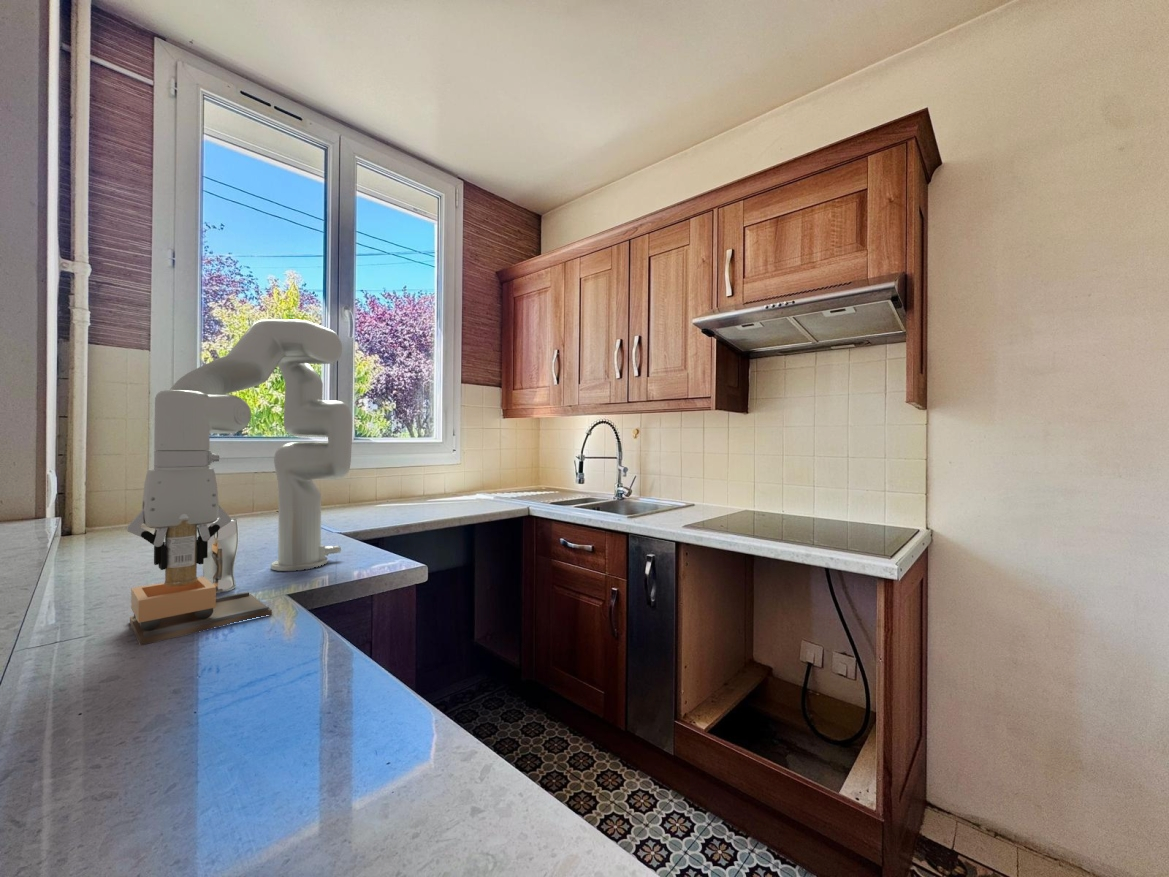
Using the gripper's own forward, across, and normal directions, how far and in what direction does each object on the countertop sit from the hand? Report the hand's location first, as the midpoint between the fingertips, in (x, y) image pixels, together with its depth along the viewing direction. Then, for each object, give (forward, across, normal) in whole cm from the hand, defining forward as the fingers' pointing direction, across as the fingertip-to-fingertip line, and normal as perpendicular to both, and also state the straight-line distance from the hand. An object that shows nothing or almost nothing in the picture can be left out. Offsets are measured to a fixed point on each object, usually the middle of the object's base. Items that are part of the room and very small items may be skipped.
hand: (181, 564), depth 86 cm
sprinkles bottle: (+4, 0, 0) cm, 4 cm away
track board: (+10, -3, 0) cm, 11 cm away
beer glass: (+10, -9, -19) cm, 24 cm away
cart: (+9, +1, 0) cm, 9 cm away
